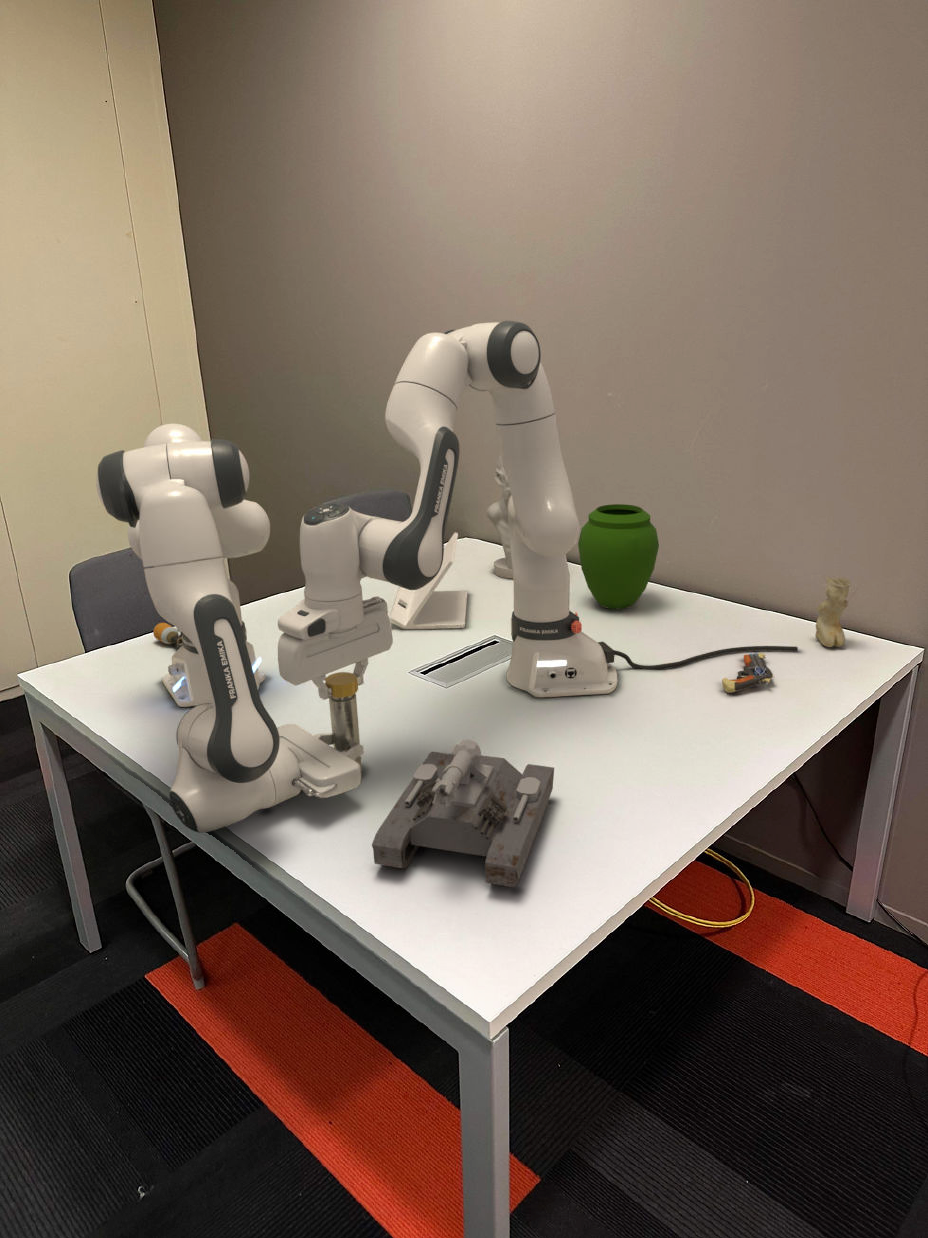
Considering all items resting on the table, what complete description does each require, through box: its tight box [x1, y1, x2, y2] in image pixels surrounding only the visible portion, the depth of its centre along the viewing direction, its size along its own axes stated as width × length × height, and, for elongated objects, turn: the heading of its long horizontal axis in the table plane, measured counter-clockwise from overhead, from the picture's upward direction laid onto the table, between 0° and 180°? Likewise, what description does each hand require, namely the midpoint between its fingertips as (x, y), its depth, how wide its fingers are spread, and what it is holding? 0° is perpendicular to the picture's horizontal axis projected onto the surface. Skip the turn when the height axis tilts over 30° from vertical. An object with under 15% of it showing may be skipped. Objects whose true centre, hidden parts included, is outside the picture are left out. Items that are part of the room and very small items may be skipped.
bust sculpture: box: [485, 454, 513, 579], centre depth 231 cm, size 16×24×35 cm
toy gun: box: [721, 652, 775, 694], centre depth 172 cm, size 3×19×10 cm
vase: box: [577, 503, 660, 610], centre depth 210 cm, size 20×20×24 cm
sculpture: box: [814, 576, 852, 648], centre depth 185 cm, size 6×7×15 cm
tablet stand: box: [388, 531, 468, 630], centre depth 211 cm, size 18×25×17 cm
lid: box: [324, 671, 359, 698], centre depth 137 cm, size 5×5×2 cm
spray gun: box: [152, 622, 183, 647], centre depth 201 cm, size 4×17×15 cm
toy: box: [371, 739, 555, 888], centre depth 122 cm, size 25×20×15 cm
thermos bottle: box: [328, 693, 363, 774], centre depth 139 cm, size 4×4×16 cm
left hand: (350, 741), depth 141 cm, fingers closed on thermos bottle, 4 cm apart
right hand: (341, 691), depth 137 cm, fingers closed on lid, 5 cm apart
